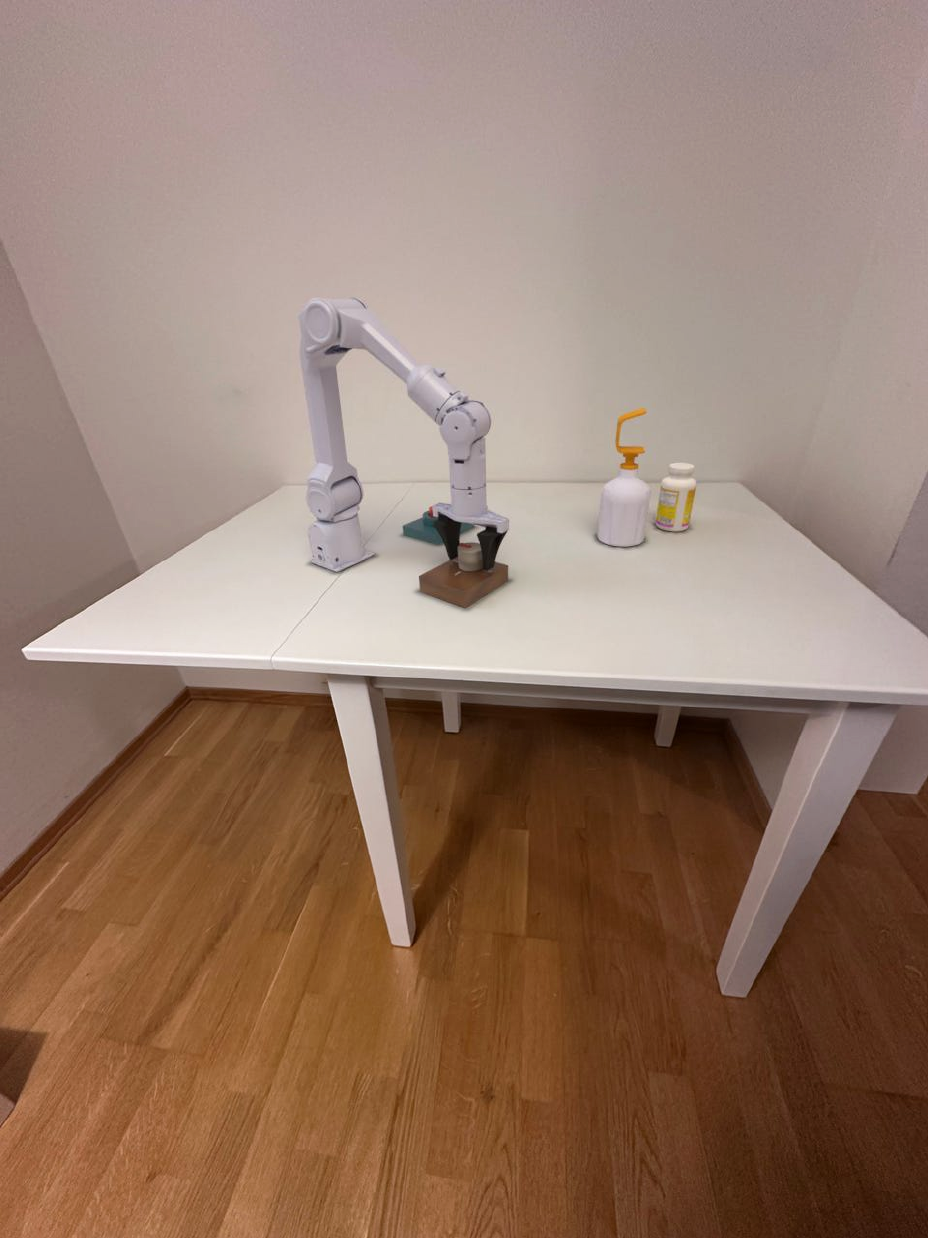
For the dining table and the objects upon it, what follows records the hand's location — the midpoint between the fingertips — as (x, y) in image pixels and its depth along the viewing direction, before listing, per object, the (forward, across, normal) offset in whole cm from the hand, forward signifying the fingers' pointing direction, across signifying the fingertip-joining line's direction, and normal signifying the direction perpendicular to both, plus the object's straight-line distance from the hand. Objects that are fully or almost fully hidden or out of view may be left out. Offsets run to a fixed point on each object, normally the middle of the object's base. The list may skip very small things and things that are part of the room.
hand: (471, 562), depth 88 cm
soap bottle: (+4, -13, -32) cm, 35 cm away
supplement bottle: (+4, -19, -44) cm, 48 cm away
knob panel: (+4, 0, +2) cm, 4 cm away
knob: (+1, 0, 0) cm, 1 cm away
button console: (+4, +21, -15) cm, 26 cm away
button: (0, +21, -15) cm, 26 cm away
